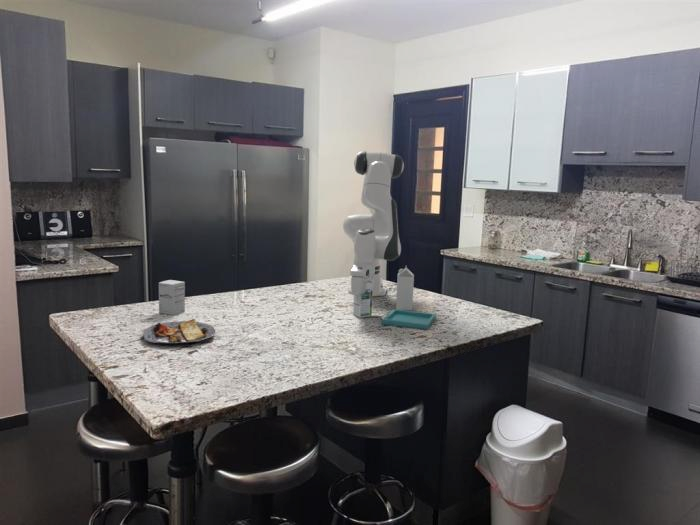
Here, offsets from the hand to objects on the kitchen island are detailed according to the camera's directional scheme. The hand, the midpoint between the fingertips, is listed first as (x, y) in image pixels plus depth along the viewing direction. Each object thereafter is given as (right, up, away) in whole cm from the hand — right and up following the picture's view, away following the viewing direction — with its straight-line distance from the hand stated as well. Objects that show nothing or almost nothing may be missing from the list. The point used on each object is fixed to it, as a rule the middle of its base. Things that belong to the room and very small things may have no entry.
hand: (362, 301), depth 220 cm
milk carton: (+19, -4, +16) cm, 25 cm away
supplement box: (-77, -4, -5) cm, 77 cm away
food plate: (-64, -10, -35) cm, 74 cm away
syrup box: (0, -6, +1) cm, 6 cm away
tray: (+19, -8, -5) cm, 21 cm away
